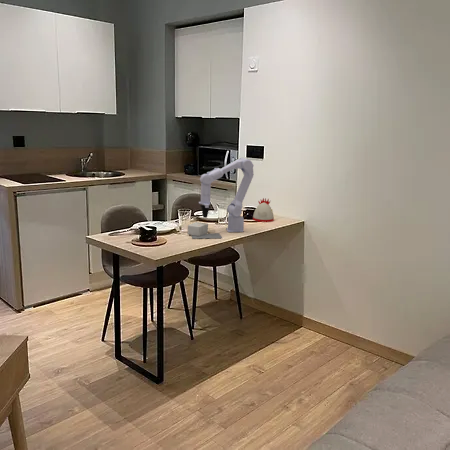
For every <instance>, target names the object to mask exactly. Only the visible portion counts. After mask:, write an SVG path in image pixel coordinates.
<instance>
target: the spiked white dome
mask: <svg viewBox="0 0 450 450" xmlns="http://www.w3.org/2000/svg"><path fill="white" fill-rule="evenodd" d="M269 199H270V198H264V197H263V198H262V199H260V200H258V205H257V206H256V208H255V210H254V212H253V215H252V220H253V221H255V222H258V223H271V222H274V221H275V220H274V216H275V215H274V211H273V209H272V207H271V206H270V203H271V201H269Z"/></svg>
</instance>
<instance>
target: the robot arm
mask: <svg viewBox="0 0 450 450" xmlns="http://www.w3.org/2000/svg"><path fill="white" fill-rule="evenodd" d="M235 169H238V170H239V169H240V170H241V172H242V174H243V177H242V180H241V181H240V184H239V187H238V189H237V191H236V194H235V197H234V198H233V200H232V201H231V202H230V204H228V206H227V208H226V211H227V213H228V214H227V227H226V228H225V229H226V230H227V232H228V233H244V226H245V219H244V216H241V215H242V211H243V210H242V209H243V201H244V199H245V197H246V194H247V192H248V190H249V187H250V185H251V183H252V180H253V178H254V163H253V161H252V160H251V159H247V158H245V157H240V158H238V159H235V160H234V161H232V162H230V163H229V164H226V165H225V166H223V167H222V168H219V167H214V169H212V170H210V171H207V172H206V173H203V174H201V175H200V178H199V182H200V201H198V204H199V205H200V209H201V212H202V217H203V218H206V219H207V218H208V216H209V211H210V209H211V202H212V201H211V194H212V193H211V192H212V191H211V189H212V187H211V184H212V183H213V182H214V181H217V180H219V179H220V178H222V177H223V176H224V174H226V173H228V172H230V171H233V170H235Z"/></svg>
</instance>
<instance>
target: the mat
mask: <svg viewBox="0 0 450 450" xmlns="http://www.w3.org/2000/svg"><path fill="white" fill-rule="evenodd" d="M190 236H191V239H192V240H208V239H209V240H212V239H213V240H215V239H216V240H217V239H218V240H222V239H223V237H222V236H221V234H220V233H219V232H216V233H215V232H209V233H205V234H203V235H201V236H195V235H190ZM221 238H222V239H221Z"/></svg>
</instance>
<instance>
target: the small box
mask: <svg viewBox="0 0 450 450" xmlns="http://www.w3.org/2000/svg"><path fill="white" fill-rule="evenodd" d="M208 232H209V224H208V223H205V222H199V221H195V222H193V223H190V224H188V225H187V235H188V236H189V235H190V236H191V235H195V236H201V235H203V234H205V233H208Z"/></svg>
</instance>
